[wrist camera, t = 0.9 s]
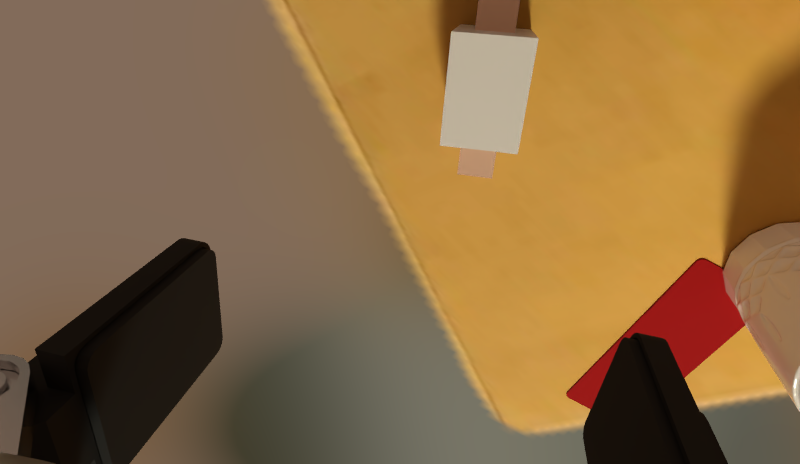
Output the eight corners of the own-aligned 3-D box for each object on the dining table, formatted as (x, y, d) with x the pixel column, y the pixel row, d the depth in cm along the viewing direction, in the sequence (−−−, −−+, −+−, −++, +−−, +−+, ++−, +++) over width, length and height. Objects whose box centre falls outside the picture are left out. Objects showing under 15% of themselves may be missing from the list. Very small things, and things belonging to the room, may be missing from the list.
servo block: (538, -16, 26) (548, -18, 20) (508, 159, 30) (510, 194, 25) (465, -20, 26) (456, -24, 21) (446, 152, 31) (435, 185, 26)
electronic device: (698, 253, 31) (563, 391, 38) (701, 257, 31) (564, 396, 38) (773, 294, 31) (625, 423, 39) (777, 298, 31) (626, 428, 38)
